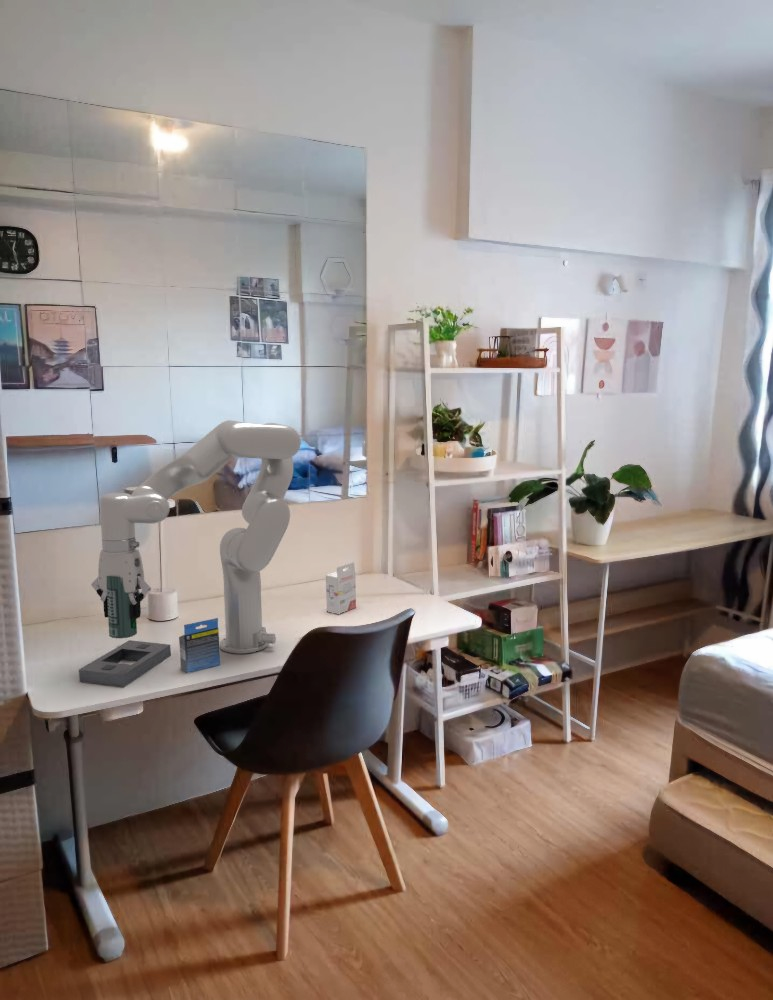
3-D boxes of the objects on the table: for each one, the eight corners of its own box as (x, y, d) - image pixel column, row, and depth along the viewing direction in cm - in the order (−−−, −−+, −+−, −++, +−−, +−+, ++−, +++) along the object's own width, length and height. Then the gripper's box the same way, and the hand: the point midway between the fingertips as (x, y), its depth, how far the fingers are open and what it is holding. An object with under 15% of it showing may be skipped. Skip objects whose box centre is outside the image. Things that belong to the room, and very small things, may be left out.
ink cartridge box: (344, 605, 234) (343, 559, 231) (356, 608, 231) (356, 561, 228) (325, 612, 227) (324, 564, 225) (338, 615, 224) (337, 567, 222)
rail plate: (170, 655, 193) (170, 644, 192) (124, 687, 174) (123, 674, 173) (130, 651, 196) (129, 639, 196) (79, 681, 177) (78, 669, 177)
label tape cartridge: (214, 660, 190) (212, 613, 188) (220, 665, 187) (218, 617, 185) (180, 668, 185) (177, 620, 183) (186, 674, 182) (183, 625, 179)
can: (140, 634, 183) (138, 574, 181) (116, 640, 179) (113, 579, 176) (129, 628, 187) (126, 569, 185) (105, 633, 183) (102, 574, 181)
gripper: (159, 544, 181) (162, 616, 184) (97, 539, 185) (101, 609, 188) (141, 551, 174) (145, 625, 177) (77, 545, 178) (81, 618, 181)
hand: (122, 616), depth 183 cm, fingers closed on can, 6 cm apart
